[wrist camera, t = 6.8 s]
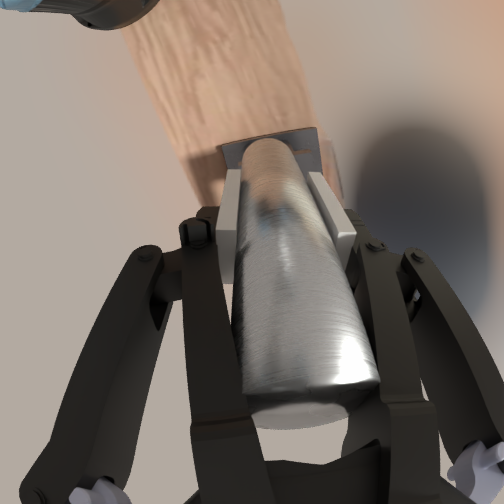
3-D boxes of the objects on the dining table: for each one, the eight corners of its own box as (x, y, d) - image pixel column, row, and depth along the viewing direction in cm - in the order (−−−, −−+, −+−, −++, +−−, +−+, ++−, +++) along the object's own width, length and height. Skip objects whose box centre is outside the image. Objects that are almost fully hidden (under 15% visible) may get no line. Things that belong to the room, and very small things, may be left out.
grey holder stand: (221, 144, 38) (215, 163, 31) (315, 127, 36) (330, 141, 30) (249, 241, 49) (249, 273, 42) (326, 226, 47) (338, 257, 40)
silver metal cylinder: (242, 137, 19) (220, 377, 5) (295, 139, 19) (409, 362, 5) (242, 187, 22) (231, 431, 7) (291, 189, 22) (351, 423, 7)
